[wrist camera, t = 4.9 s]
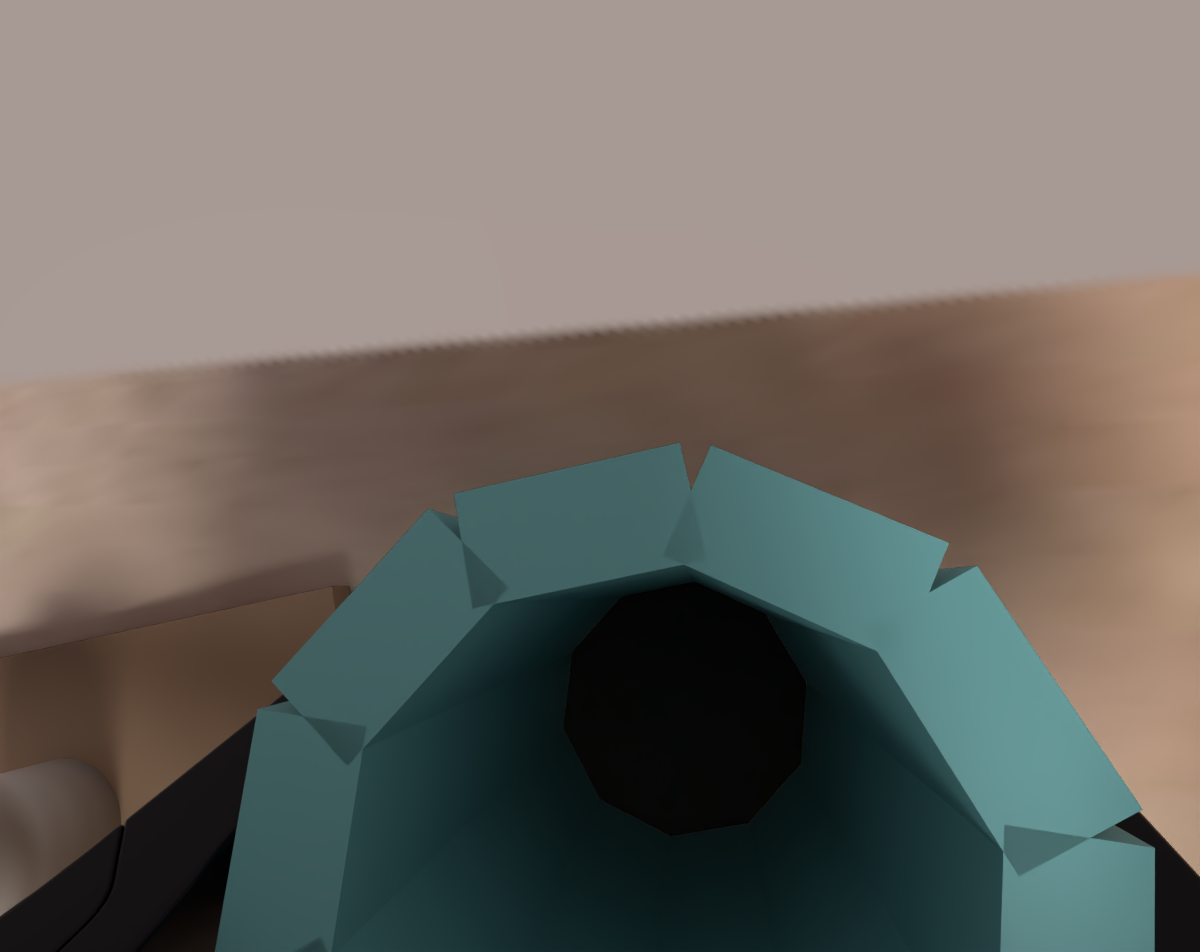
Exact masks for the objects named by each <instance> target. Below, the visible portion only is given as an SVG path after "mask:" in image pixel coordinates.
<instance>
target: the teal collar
mask: <svg viewBox="0 0 1200 952" xmlns="http://www.w3.org/2000/svg"><path fill="white" fill-rule="evenodd" d="M454 499H455V505H456V511H457V517H458V518H457V517H454V516H450V515H447V514H444V513H440V512H437V511H434V510H431V509H427V510H426V512H425V513H424V514H423V515H422V516H421V517H420V518H419V519H418V520H417V521H416V523H415V524H414V525H413V526H412V527H411V528H410V529H409V530H408V531H407V532H406V534H405V535H404V536H403V537H402V538H401V539H400V540H399V541H398V542H397V543H396V545H395V546H394V547H393V548H392V549H391V550H390V551H389V552H388V553H387V554H386V555H385V557H384V558H383V559H382V560H381V561H380V562H379V563H378V564H377V565H376V566H375V568H374V569H373V570H372V571H371V572H370V573H369V574H368V575H367V576H366V577H365V579H364V580H363V581H362V582H361V583H360V584H359V585H358V586H357V587H356V588H355V590H354V591H353V592H352V593H351V594H350V595H349V596H348V597H347V598H346V599H345V601H344V602H343V603H342V604H341V605H340V606H339V607H338V608H337V609H336V610H335V612H334V613H333V614H332V615H331V616H330V617H329V618H328V619H327V620H326V621H325V623H324V624H323V625H322V626H321V627H320V628H319V629H318V630H317V631H316V632H315V634H314V635H313V636H312V637H311V638H310V639H309V640H308V641H307V642H306V643H305V644H304V646H303V647H302V648H301V649H300V650H299V651H298V652H297V653H296V654H295V655H294V657H293V658H292V659H291V660H290V661H289V662H288V663H287V664H286V665H285V666H284V668H283V669H282V670H281V671H280V672H279V673H278V674H277V675H276V676H275V677H274V679H273V680H272V682H273V683H274V685H275V686H276V687H277V688H278V689H279V690H280V691H281V692H282V694H283V695H284V696H285V697H286V698H287V699H288V700H289V701H287V702H283V703H279V704H276V705H272V706H268V707H264V708H261V709H258V710H257V715H256V721H255V727H254V732H253V738H252V744H251V749H250V755H249V761H248V766H247V772H246V778H245V784H244V789H243V795H242V801H241V806H240V812H239V818H238V823H237V829H236V835H235V840H234V846H233V852H232V857H231V863H230V869H229V874H228V880H227V886H226V892H225V897H224V903H223V909H222V914H221V920H220V926H219V931H218V937H217V943H216V948H215V952H1155V848H1154V847H1152V846H1151V845H1149V844H1147V843H1145V842H1143V841H1142V840H1140V839H1138V838H1136V837H1135V836H1133V835H1131V834H1129V833H1127V832H1126V831H1124V830H1122V829H1120V828H1119V827H1117V826H1115V824H1117V823H1119V822H1121V821H1122V820H1124V819H1126V818H1128V817H1130V816H1132V815H1133V814H1135V813H1137V812H1139V811H1141V810H1143V809H1142V808H1141V806H1140V805H1139V803H1138V802H1137V800H1136V799H1135V798H1134V796H1133V795H1132V793H1131V792H1130V790H1129V789H1128V787H1127V786H1126V784H1125V783H1124V781H1123V780H1122V778H1121V777H1120V775H1119V774H1118V773H1117V771H1116V770H1115V768H1114V767H1113V765H1112V764H1111V762H1110V761H1109V759H1108V758H1107V756H1106V755H1105V753H1104V752H1103V750H1102V749H1101V747H1100V746H1099V745H1098V743H1097V742H1096V740H1095V739H1094V737H1093V736H1092V734H1091V733H1090V731H1089V730H1088V728H1087V727H1086V725H1085V724H1084V722H1083V721H1082V720H1081V718H1080V717H1079V715H1078V714H1077V712H1076V711H1075V709H1074V708H1073V706H1072V705H1071V703H1070V702H1069V700H1068V699H1067V697H1066V696H1065V694H1064V693H1063V692H1062V690H1061V689H1060V687H1059V686H1058V684H1057V683H1056V681H1055V680H1054V678H1053V677H1052V675H1051V674H1050V672H1049V671H1048V669H1047V668H1046V666H1045V665H1044V664H1043V662H1042V661H1041V659H1040V658H1039V656H1038V655H1037V653H1036V652H1035V650H1034V649H1033V647H1032V646H1031V644H1030V643H1029V641H1028V640H1027V639H1026V637H1025V636H1024V634H1023V633H1022V631H1021V630H1020V628H1019V627H1018V625H1017V624H1016V622H1015V621H1014V619H1013V618H1012V616H1011V615H1010V613H1009V612H1008V611H1007V609H1006V608H1005V606H1004V605H1003V603H1002V602H1001V600H1000V599H999V597H998V596H997V594H996V593H995V591H994V590H993V588H992V587H991V586H990V584H989V583H988V581H987V580H986V578H985V577H984V575H983V574H982V572H981V571H980V569H979V568H978V566H968V567H958V568H947V569H939V567H940V564H941V562H942V559H943V557H944V554H945V552H946V549H947V547H948V544H949V543H948V542H945V541H943V540H940V539H938V538H936V537H933V536H931V535H928V534H926V533H923V532H921V531H919V530H916V529H914V528H911V527H909V526H906V525H904V524H901V523H899V522H897V521H894V520H892V519H889V518H887V517H884V516H882V515H880V514H877V513H875V512H872V511H870V510H867V509H865V508H863V507H860V506H858V505H855V504H853V503H850V502H848V501H846V500H843V499H841V498H838V497H836V496H833V495H831V494H829V493H826V492H824V491H821V490H819V489H816V488H814V487H812V486H809V485H807V484H804V483H802V482H799V481H797V480H795V479H792V478H790V477H787V476H785V475H782V474H780V473H778V472H775V471H773V470H770V469H768V468H765V467H763V466H761V465H758V464H756V463H753V462H751V461H748V460H746V459H743V458H741V457H739V456H736V455H734V454H731V453H729V452H726V451H724V450H722V449H719V448H717V447H714V446H712V445H711V447H710V449H709V451H708V454H707V456H706V458H705V460H704V463H703V465H702V467H701V469H700V472H699V474H698V476H697V478H696V481H695V483H694V485H693V488H692V490H691V489H690V485H689V480H688V476H687V472H686V467H685V463H684V458H683V454H682V450H681V445H680V443H676V444H671V445H667V446H662V447H658V448H654V449H649V450H645V451H640V452H636V453H631V454H627V455H623V456H618V457H614V458H609V459H605V460H600V461H596V462H592V463H587V464H583V465H578V466H574V467H569V468H565V469H561V470H556V471H552V472H547V473H543V474H538V475H534V476H530V477H525V478H521V479H516V480H512V481H507V482H503V483H499V484H494V485H490V486H485V487H481V488H476V489H472V490H468V491H463V492H459V493H454ZM690 582H697V583H699V584H701V585H703V586H705V587H708V588H710V589H712V590H714V591H717V592H719V593H721V594H723V595H725V596H728V597H730V598H732V599H734V600H736V601H739V602H741V603H743V604H745V605H747V606H750V607H752V608H754V609H756V610H759V611H761V612H763V613H765V614H766V616H767V617H768V619H769V621H770V622H771V624H772V626H773V627H774V629H775V631H776V632H777V634H778V636H779V637H780V639H781V641H782V642H783V644H784V646H785V647H786V649H787V651H788V652H789V654H790V656H791V657H792V659H793V661H794V662H795V664H796V666H797V667H798V669H799V671H800V672H801V674H802V676H803V677H804V679H805V681H806V682H807V684H806V698H805V712H804V726H803V741H802V755H801V764H800V765H799V766H798V767H797V769H796V770H795V771H794V772H793V773H792V774H791V775H790V776H789V778H788V779H787V780H786V781H785V782H784V783H783V784H782V786H781V787H780V788H779V789H778V790H777V791H776V792H775V793H774V795H773V796H772V797H771V798H770V799H769V800H768V801H767V803H766V804H765V805H764V806H763V807H762V808H761V809H760V810H759V812H758V813H757V814H756V815H755V816H754V817H753V818H752V820H751V821H750V822H749V823H746V824H741V825H735V826H729V827H723V828H717V829H711V830H705V831H699V832H693V833H687V834H682V835H676V836H669V835H667V834H665V833H663V832H661V831H659V830H658V829H656V828H654V827H652V826H650V825H648V824H646V823H644V822H642V821H641V820H639V819H637V818H635V817H633V816H631V815H629V814H627V813H625V812H623V811H622V810H620V809H618V808H616V807H614V806H612V805H610V804H608V803H606V802H605V801H603V800H601V799H600V798H599V796H598V794H597V792H596V791H595V789H594V787H593V785H592V783H591V781H590V779H589V777H588V775H587V773H586V771H585V769H584V767H583V765H582V763H581V761H580V760H579V758H578V756H577V754H576V752H575V750H574V748H573V746H572V744H571V742H570V740H569V738H568V736H567V734H566V732H565V731H564V729H563V727H564V718H565V710H566V701H567V693H568V684H569V676H570V667H571V658H572V652H573V650H574V649H575V648H576V647H577V646H578V645H579V644H580V643H581V641H582V640H583V639H584V638H585V637H586V636H587V635H588V634H589V633H590V631H591V630H592V629H593V628H594V627H595V626H596V625H597V624H598V623H599V621H600V620H601V619H602V618H603V617H604V616H605V615H606V614H607V613H608V611H609V610H610V609H611V608H612V607H613V606H614V605H615V604H616V602H617V601H618V600H619V599H620V598H621V597H622V596H627V595H632V594H636V593H641V592H646V591H651V590H656V589H661V588H666V587H671V586H675V585H680V584H685V583H690Z"/></svg>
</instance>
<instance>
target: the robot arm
mask: <svg viewBox="0 0 1200 952" xmlns="http://www.w3.org/2000/svg"><path fill="white" fill-rule="evenodd" d="M287 701H289V700H288V699H287V698H286V697H285V696H284V695H283V694H282V695H281V696H280V697H278V698H277V699H276V700H275V701H273V702H272V703H271V704H270V705H268V706H272V705H276V704H279V703H283V702H287ZM268 706H267V707H268ZM255 721H256V716H255V717H253V718H252V719H251V720H250V721H248V722H247V723H246V724H245V725H243V726H242V727H241V728H240V729H238V730H237V731H236V732H235V733H233V734H232V735H231V736H230V737H228V738H227V739H226V740H225V741H223V742H222V743H221V744H220V745H218V746H217V747H216V748H215V749H213V750H212V751H211V752H210V753H209V754H207V755H206V756H205V757H204V758H202V759H201V760H200V761H199V762H197V763H196V764H195V765H194V766H192V767H191V768H190V769H189V770H187V771H186V772H185V773H184V774H182V775H181V776H180V777H179V778H177V779H176V780H175V781H174V782H172V783H171V784H170V785H169V786H167V787H166V788H165V789H164V790H162V791H161V792H160V793H159V794H157V795H156V796H155V797H154V798H152V799H151V800H150V801H149V802H147V803H146V804H145V805H144V806H142V807H141V808H140V809H139V810H137V811H136V812H135V813H134V814H132V815H131V816H130V817H129V818H127V820H126V821H125V825H119V826H117V827H116V828H115V829H113V830H112V831H111V832H110V833H108V834H107V835H106V836H105V837H103V838H102V839H101V840H100V841H98V842H97V843H96V844H95V845H93V846H92V847H91V848H90V849H88V850H87V851H86V852H85V853H83V854H82V855H81V856H79V857H78V858H77V859H76V860H74V861H73V862H72V863H70V864H69V865H68V866H66V867H65V868H64V869H63V870H61V871H60V872H59V873H57V874H56V875H55V876H54V877H52V878H51V879H50V880H48V881H47V882H46V883H45V884H43V885H42V886H41V887H39V888H38V889H37V890H35V891H34V892H33V893H31V894H30V895H28V896H27V897H26V898H24V899H23V900H22V901H20V902H19V903H17V904H16V905H15V906H13V907H12V908H10V909H9V910H8V911H6V912H5V913H4V914H2V915H1V916H0V952H215V948H216V943H217V937H218V931H219V926H220V920H221V914H222V909H223V903H224V897H225V892H226V886H227V880H228V874H229V869H230V863H231V857H232V852H233V846H234V840H235V835H236V829H237V823H238V818H239V812H240V806H241V801H242V795H243V789H244V784H245V778H246V772H247V766H248V761H249V755H250V749H251V744H252V738H253V732H254V727H255ZM1115 826H1117V827H1119V828H1120V829H1122V830H1124V831H1126V832H1127V833H1129V834H1131V835H1133V836H1135V837H1136V838H1138V839H1140V840H1142V841H1143V842H1145V843H1147V844H1149V845H1151V846H1152V847H1154V848H1155V952H1200V876H1199V875H1198V874H1197V873H1196V872H1195V871H1194V870H1193V869H1192V868H1191V867H1190V865H1189V864H1188V863H1187V862H1186V861H1185V860H1184V859H1183V858H1182V857H1181V856H1180V855H1179V854H1178V852H1177V851H1176V850H1175V849H1174V848H1173V847H1172V846H1171V845H1170V844H1169V843H1168V842H1167V841H1166V840H1165V838H1164V837H1163V836H1162V835H1161V834H1160V833H1159V832H1158V831H1157V830H1156V829H1155V828H1154V827H1153V825H1152V824H1151V823H1150V822H1149V821H1148V820H1147V819H1146V818H1145V817H1144V816H1143V815H1142V814H1141V813H1140V811H1139V812H1137V813H1135V814H1133V815H1132V816H1130V817H1128V818H1126V819H1124V820H1122V821H1121V822H1119V823H1117V824H1115Z"/></svg>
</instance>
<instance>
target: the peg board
mask: <svg viewBox="0 0 1200 952" xmlns="http://www.w3.org/2000/svg"><path fill="white" fill-rule="evenodd" d="M349 595H350V589H349V586H331V587H326V588H321V589H317V590H312V591H308V592H303V593H298V594H294V595H289V596H285V597H280V598H275V599H271V600H266V601H261V602H257V603H252V604H248V605H243V606H238V607H234V608H229V609H224V610H220V611H215V612H211V613H206V614H201V615H197V616H192V617H187V618H183V619H178V620H174V621H169V622H164V623H160V624H155V625H151V626H146V627H141V628H137V629H132V630H127V631H123V632H118V633H114V634H109V635H104V636H100V637H95V638H90V639H86V640H81V641H77V642H72V643H67V644H63V645H58V646H53V647H49V648H44V649H40V650H35V651H30V652H26V653H21V654H16V655H12V656H7V657H3V658H0V916H1V915H2V914H4V913H5V912H6V911H8V910H9V909H10V908H12V907H13V906H15V905H16V904H17V903H19V902H20V901H22V900H23V899H24V898H26V897H27V896H28V895H30V894H31V893H33V892H34V891H35V890H37V889H38V888H39V887H41V886H42V885H43V884H45V883H46V882H47V881H48V880H50V879H51V878H52V877H54V876H55V875H56V874H57V873H59V872H60V871H61V870H63V869H64V868H65V867H66V866H68V865H69V864H70V863H72V862H73V861H74V860H76V859H77V858H78V857H79V856H81V855H82V854H83V853H85V852H86V851H87V850H88V849H90V848H91V847H92V846H93V845H95V844H96V843H97V842H98V841H100V840H101V839H102V838H103V837H105V836H106V835H107V834H108V833H110V832H111V831H112V830H113V829H115V828H116V827H117V826H119V825H125V821H126V820H127V818H129V817H130V816H131V815H132V814H134V813H135V812H136V811H137V810H139V809H140V808H141V807H142V806H144V805H145V804H146V803H147V802H149V801H150V800H151V799H152V798H154V797H155V796H156V795H157V794H159V793H160V792H161V791H162V790H164V789H165V788H166V787H167V786H169V785H170V784H171V783H172V782H174V781H175V780H176V779H177V778H179V777H180V776H181V775H182V774H184V773H185V772H186V771H187V770H189V769H190V768H191V767H192V766H194V765H195V764H196V763H197V762H199V761H200V760H201V759H202V758H204V757H205V756H206V755H207V754H209V753H210V752H211V751H212V750H213V749H215V748H216V747H217V746H218V745H220V744H221V743H222V742H223V741H225V740H226V739H227V738H228V737H230V736H231V735H232V734H233V733H235V732H236V731H237V730H238V729H240V728H241V727H242V726H243V725H245V724H246V723H247V722H248V721H250V720H251V719H252V718H253V717H255V716H256V715H257V710H258V709H261V708H264V707H267V706H268V705H270V704H271V703H272V702H273V701H275V700H276V699H277V698H278V697H280V696H281V695H282V692H281V691H280V690H279V689H278V688H277V687H276V686H275V685H274V683H273V682H272V680H273V679H274V677H275V676H276V675H277V674H278V673H279V672H280V671H281V670H282V669H283V668H284V666H285V665H286V664H287V663H288V662H289V661H290V660H291V659H292V658H293V657H294V655H295V654H296V653H297V652H298V651H299V650H300V649H301V648H302V647H303V646H304V644H305V643H306V642H307V641H308V640H309V639H310V638H311V637H312V636H313V635H314V634H315V632H316V631H317V630H318V629H319V628H320V627H321V626H322V625H323V624H324V623H325V621H326V620H327V619H328V618H329V617H330V616H331V615H332V614H333V613H334V612H335V610H336V609H337V608H338V607H339V606H340V605H341V604H342V603H343V602H344V601H345V599H346V598H347V597H348V596H349Z"/></svg>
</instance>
